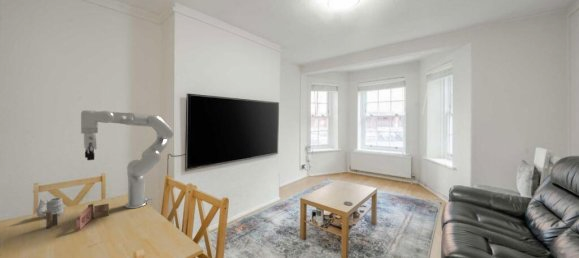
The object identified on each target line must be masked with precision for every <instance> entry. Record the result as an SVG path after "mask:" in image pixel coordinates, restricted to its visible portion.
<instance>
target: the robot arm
mask: <svg viewBox="0 0 579 258" xmlns="http://www.w3.org/2000/svg"><path fill="white" fill-rule="evenodd" d="M98 123H101V124H102V123H104V124H106V123H107V124H108V123H110V124H111V123H112V124H120V125H121V124H122V125H127V126H132V127H133V126H136V127H147V128H149V127H150V128H152V129H154V131H155V133H156V139H155V141H154V142H153V143H152V144H151V145H149V147H147V148H146V149H145V150H144V151H142V153H141V159H140V160H139V159H133V160H131V161H130V162H129V163H128V165H127V167H126V169H127V171H126V172H127V190H128V191H127V203H126V204H125V205H124V207H125V208H127V209H137V208H142V207H144V206H146V205H147V204H148V201H153V197H151V196H147V197H145V195H146V193H145V183H146V182H145V179H146V177H145V175H146V174H148V173H149V172H150V171H151V170H152V169H153V168H154V167H156V165H157V164H158V163H159V162H160V160H161V157H162V156H161V154H162V153H163V151H164V150H165V149H166V148H167V147H168V145H169V142H170V139H172V138H173V136H174V130H173V129H172V128H171V127H170V126H169V125H168V123H167V122H166V121H164V119H162V118H161V117H160V116H158V115H155V114H154V115H153V114H146V113H137V112H118V111H109V110H100V111H99V110H97V111H96V110H81V113H80V134H83V146H84V147H83V148H84V149H85V151H84V158H86V160H87V161H94V160H95V151H96V150H98V149H97V148H98V147H97V134H99V133H98V131H99V130H98V129H99V127H98V126H99V124H98ZM94 150H95V151H94ZM145 202H146V203H147V204H146V203H145Z"/></svg>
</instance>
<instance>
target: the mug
mask: <svg viewBox="0 0 579 258" xmlns="http://www.w3.org/2000/svg"><path fill="white" fill-rule="evenodd" d="M45 205H46V210H44V211H43V210H42V208H43V207H44V206H45ZM63 205H64V202H63V198H62V197H53V198H49V199H47V201H44V200H43V199H42V198H41V199H40V201H39V203H38V206H37V208H36V211H35V212H36V215H37V216H38V217H39V218H43V217H44V216H46V213H47V212H52V213H53V214H56V213H57V217H60V216H62V215H63V214H64V212H65V210H64V207H63Z"/></svg>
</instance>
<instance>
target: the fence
mask: <svg viewBox="0 0 579 258" xmlns="http://www.w3.org/2000/svg"><path fill="white" fill-rule="evenodd" d="M109 205H110V204H109V203H104V204H98V205H94V204H93V203H91V204H88V205H87V207H91V219H90V220H89V221H91V220H94V219H98V218H102V217H107V216H109V215H110V214H109V213H110V212H109V211H110V210H109V207H110V206H109ZM45 219H46V220H45V225H46V229H48V230H49V229H51V228H53V227H54V226H58V223H59V222H58V221H59V220H58V219H59V217H58V216H57V213H56V214H53V213H52V212H47V213H46V214H45Z"/></svg>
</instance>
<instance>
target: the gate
mask: <svg viewBox="0 0 579 258" xmlns="http://www.w3.org/2000/svg"><path fill="white" fill-rule="evenodd" d="M75 218H76V221H75V222H76V231H79V230H81V229H83V227H85V226H86V224H87V223H88V222H90V221H91V220H92V219H91V207H88V206H87V207H86V208H85V209H84V210H83V211H82V212H80V213H79V214H78V215H77V216H76V217H75ZM90 219H91V220H90Z"/></svg>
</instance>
